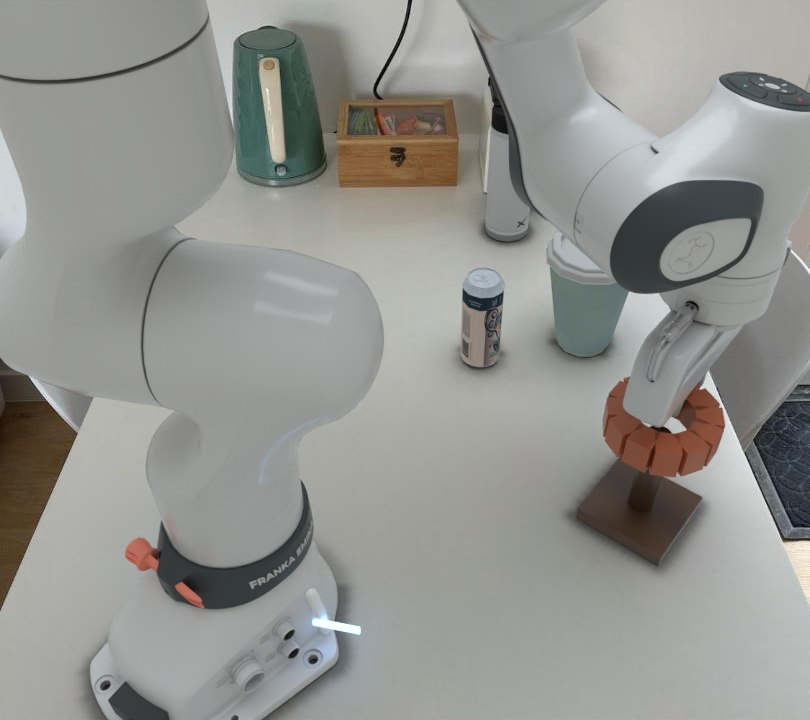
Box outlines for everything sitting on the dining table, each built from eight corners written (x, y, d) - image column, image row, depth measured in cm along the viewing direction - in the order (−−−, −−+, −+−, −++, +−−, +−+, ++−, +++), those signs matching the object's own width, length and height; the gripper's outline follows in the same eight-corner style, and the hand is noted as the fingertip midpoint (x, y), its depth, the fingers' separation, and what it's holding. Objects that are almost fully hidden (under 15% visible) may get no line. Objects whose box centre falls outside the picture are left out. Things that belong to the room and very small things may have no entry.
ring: (686, 495, 68) (694, 472, 66) (582, 440, 73) (586, 417, 71) (734, 426, 74) (742, 403, 72) (634, 380, 79) (640, 357, 77)
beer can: (496, 372, 97) (502, 292, 89) (457, 367, 98) (459, 288, 89) (501, 346, 100) (507, 267, 92) (463, 341, 101) (466, 263, 93)
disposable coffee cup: (636, 364, 97) (659, 262, 87) (549, 375, 96) (562, 273, 86) (606, 309, 105) (625, 210, 95) (525, 319, 104) (536, 219, 94)
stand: (658, 566, 77) (683, 489, 69) (575, 517, 81) (590, 440, 73) (699, 506, 82) (727, 428, 74) (619, 463, 86) (638, 385, 78)
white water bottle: (532, 242, 117) (545, 111, 103) (486, 242, 117) (493, 111, 103) (527, 218, 121) (540, 90, 108) (483, 219, 122) (490, 90, 108)
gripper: (697, 359, 58) (660, 483, 67) (801, 234, 69) (757, 355, 79) (618, 325, 61) (593, 448, 70) (730, 210, 73) (696, 329, 82)
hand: (681, 398), depth 75 cm, fingers closed on ring, 2 cm apart
